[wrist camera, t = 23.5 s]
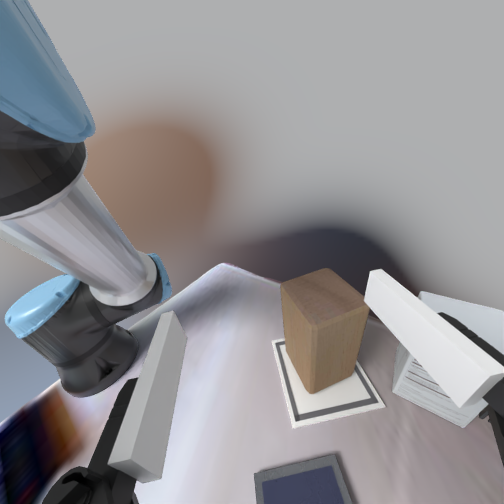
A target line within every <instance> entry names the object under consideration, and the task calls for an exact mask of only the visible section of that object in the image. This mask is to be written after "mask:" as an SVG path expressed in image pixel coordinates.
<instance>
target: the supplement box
mask: <svg viewBox="0 0 504 504" xmlns="http://www.w3.org/2000/svg"><path fill="white" fill-rule="evenodd" d="M418 299H419V300H421V301H422V302H423V303H424V304H426V305H427V306H428V307H430V308H431V309H432V310H433V311H435V312H436V313H440V312H443V313H445V314H447V315H449V316H451V317H453V318H455V319H457V320H458V321H460V322H461V323H462V324H464V325H465V326H466V327H468V329H469V330H472V331H473V332H474V333H476V334H477V335H478V337H481V338H482V339H483V340H485V341H486V342H487V343H489V344H490V345H491V346H493V347H494V348H495V349H497V350H498V351H499V352H501V353H502V354H503V355H504V311H502V310H498V309H495V308H491V307H486V306H483V305H478V304H474V303H469V302H465V301H461V300H457V299H453V298H449V297H445V296H440V295H437V294H432V293H428V292H424V291H420V294H419V296H418ZM392 392H393V393H395V394H397V395H399V396H400V397H402V398H404V399H406V400H408V401H410V402H412V403H414V404H416V405H418V406H420V407H422V408H424V409H426V410H428V411H430V412H432V413H434V414H436V415H438V416H440V417H442V418H444V419H446V420H448V421H450V422H452V423H454V424H456V425H458V426H459V427H461V428H465V427H466V426H467V425H468V424H469V423H470V422H471V421H472V420H473V419H474V418H475V417H476V416H477V415H478V414H479V412H481V411H482V410H483V409H484V408H485V407H486V406H487V405H488V403H487V402H486V401H485V400H484V399H483V398H482V399H481V400H480V401H479V402H478V403H477V404H476V405H472V406H467V407H463V408H459V407H458V406H457V405H456V404H455V403H454V402H453V401H452V399H451V398H450V397H449V396H448V395H447V394H446V393H445V392H444V390H443V389H442V388H441V387H440V386H439V385H438V384H437V383H436V381H435V380H434V379H433V378H432V377H431V376H430V375H429V374H428V372H427V371H426V370H425V369H424V368H423V367H422V366H421V365H420V363H419V362H418V361H417V360H416V359H415V358H414V357H413V356H412V355H411V353H410V352H409V351H408V350H407V349H406V348H405V347H404V346H403V344H402V343H401V342H400V343H399V346H398V348H397V350H396V355H395V366H394V376H393V386H392Z"/></svg>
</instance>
